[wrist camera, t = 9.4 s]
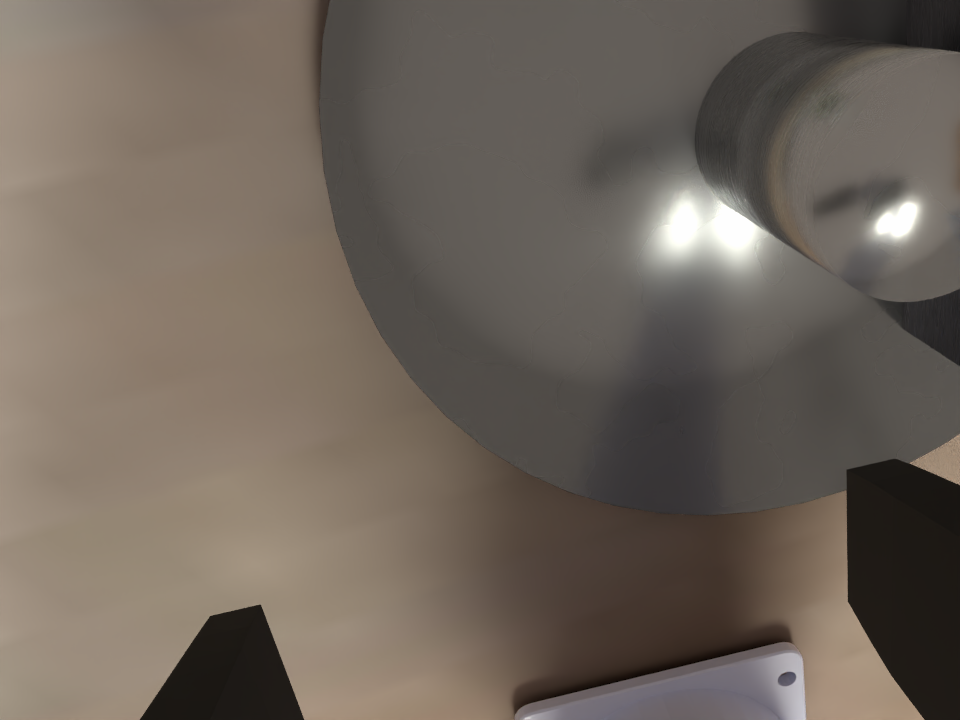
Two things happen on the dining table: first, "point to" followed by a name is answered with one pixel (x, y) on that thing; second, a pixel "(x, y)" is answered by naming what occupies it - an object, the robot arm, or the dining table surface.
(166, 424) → the dining table surface
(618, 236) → the rosette joint
